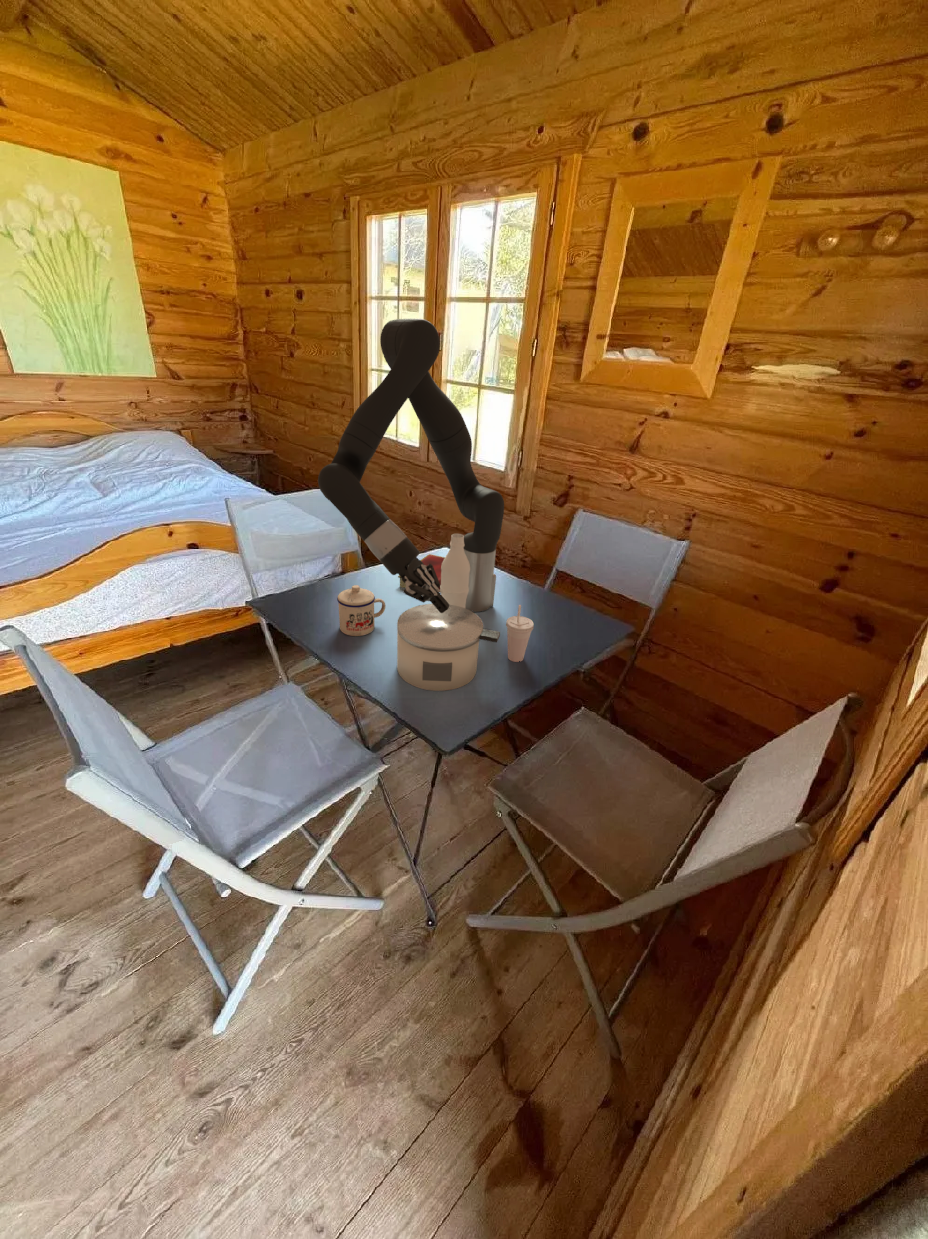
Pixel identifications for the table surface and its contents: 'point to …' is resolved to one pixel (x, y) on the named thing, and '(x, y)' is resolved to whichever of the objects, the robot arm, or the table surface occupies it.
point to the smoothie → (518, 636)
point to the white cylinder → (436, 666)
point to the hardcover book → (427, 560)
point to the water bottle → (455, 573)
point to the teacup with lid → (357, 611)
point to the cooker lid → (442, 628)
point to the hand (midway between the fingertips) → (445, 609)
